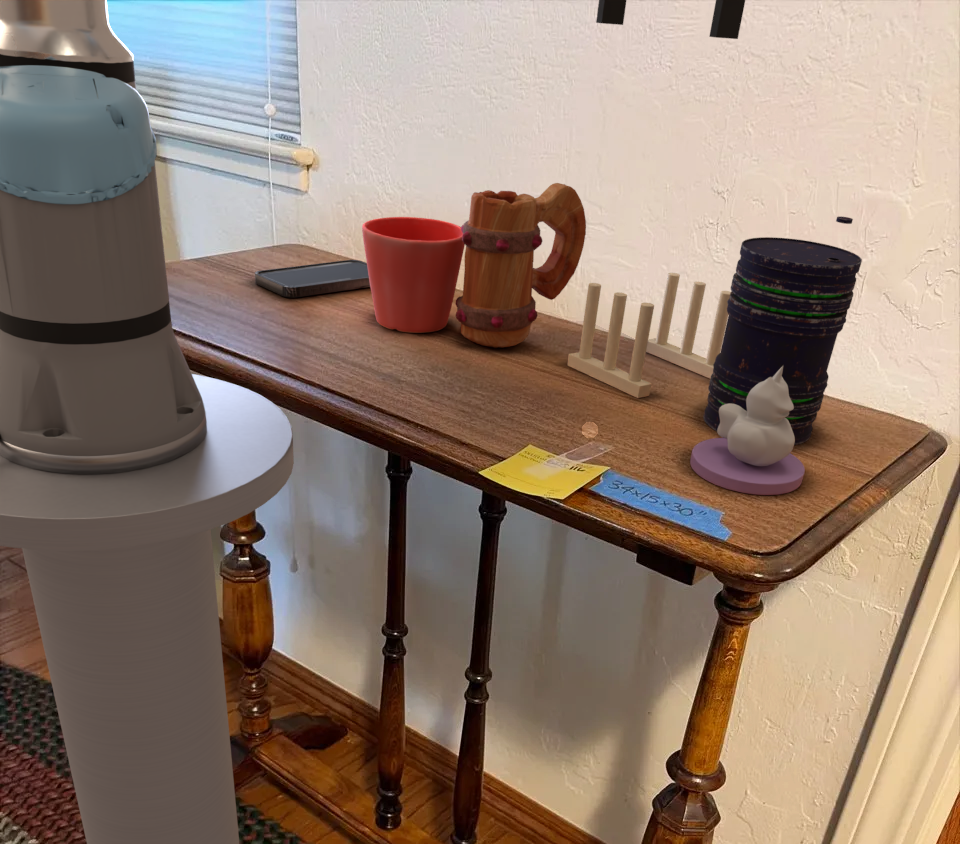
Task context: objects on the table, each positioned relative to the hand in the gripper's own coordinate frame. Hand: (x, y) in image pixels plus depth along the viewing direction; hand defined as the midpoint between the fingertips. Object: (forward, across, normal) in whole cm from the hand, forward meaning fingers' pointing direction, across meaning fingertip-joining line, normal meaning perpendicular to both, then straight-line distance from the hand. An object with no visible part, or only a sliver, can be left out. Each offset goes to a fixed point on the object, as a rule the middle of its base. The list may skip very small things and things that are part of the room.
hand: (663, 31), depth 83 cm
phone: (+29, +35, +14) cm, 47 cm away
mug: (+29, +9, +6) cm, 31 cm away
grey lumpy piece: (+28, -26, +10) cm, 39 cm away
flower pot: (+29, +18, +13) cm, 36 cm away
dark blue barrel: (+29, -20, +1) cm, 35 cm away
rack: (+29, -5, 0) cm, 29 cm away
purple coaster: (+29, -26, +10) cm, 40 cm away
